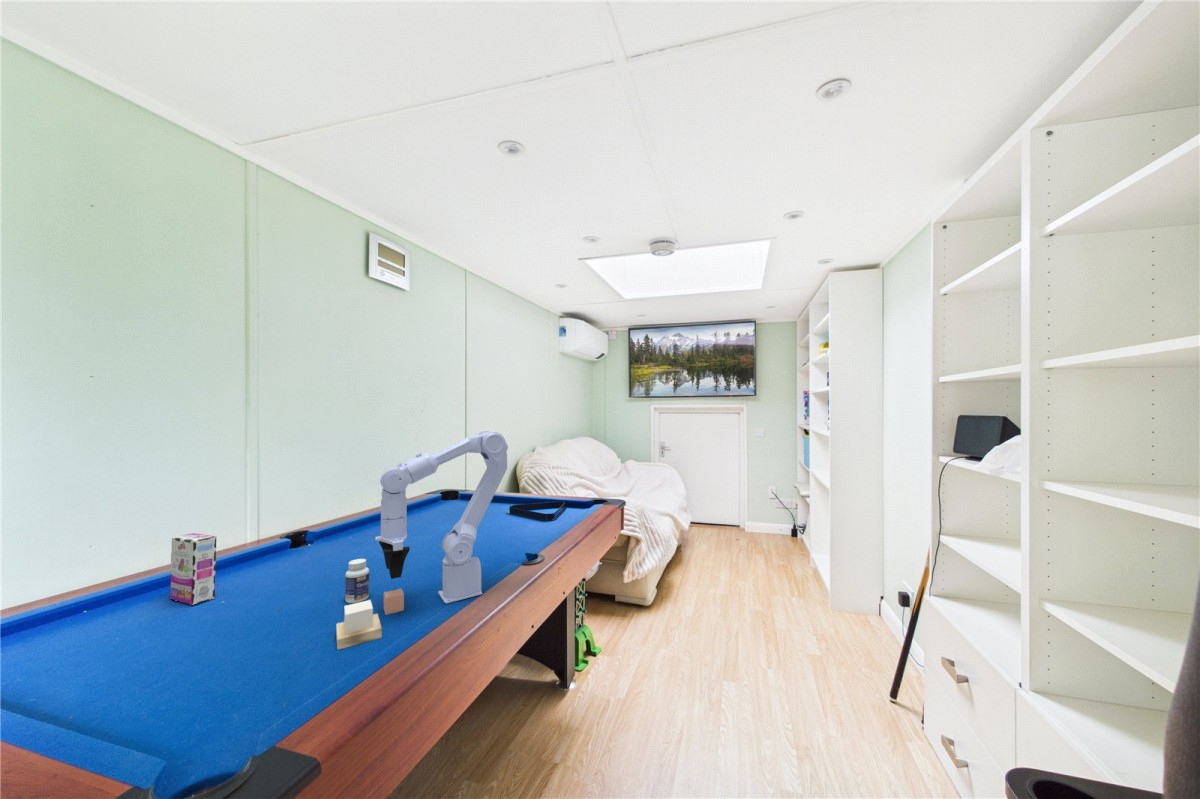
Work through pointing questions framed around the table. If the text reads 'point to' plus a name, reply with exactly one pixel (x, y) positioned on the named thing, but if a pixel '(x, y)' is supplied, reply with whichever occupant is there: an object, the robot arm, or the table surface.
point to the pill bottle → (357, 581)
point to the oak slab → (358, 634)
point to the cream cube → (358, 616)
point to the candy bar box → (193, 568)
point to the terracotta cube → (393, 601)
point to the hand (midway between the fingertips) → (393, 572)
